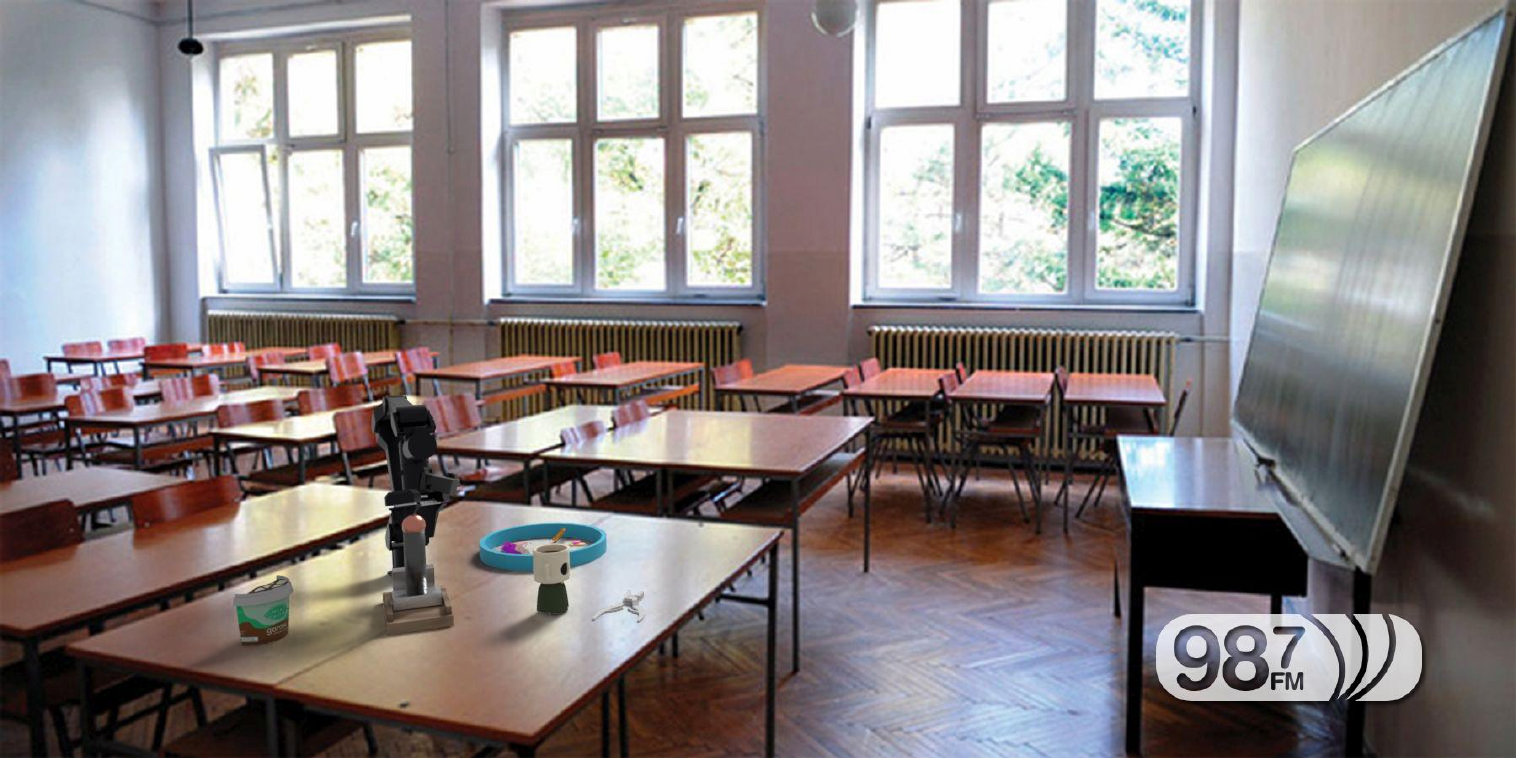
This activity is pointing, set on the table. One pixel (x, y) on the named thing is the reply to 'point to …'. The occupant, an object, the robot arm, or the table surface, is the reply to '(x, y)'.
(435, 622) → the board
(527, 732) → the table surface
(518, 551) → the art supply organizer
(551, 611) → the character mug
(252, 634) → the food container
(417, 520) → the handle
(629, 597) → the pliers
